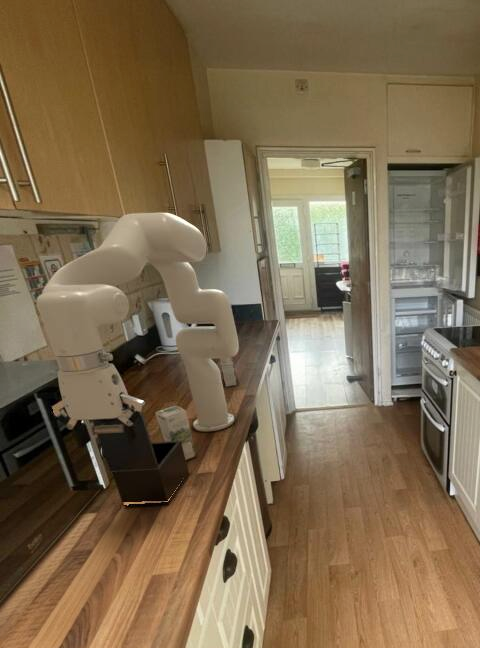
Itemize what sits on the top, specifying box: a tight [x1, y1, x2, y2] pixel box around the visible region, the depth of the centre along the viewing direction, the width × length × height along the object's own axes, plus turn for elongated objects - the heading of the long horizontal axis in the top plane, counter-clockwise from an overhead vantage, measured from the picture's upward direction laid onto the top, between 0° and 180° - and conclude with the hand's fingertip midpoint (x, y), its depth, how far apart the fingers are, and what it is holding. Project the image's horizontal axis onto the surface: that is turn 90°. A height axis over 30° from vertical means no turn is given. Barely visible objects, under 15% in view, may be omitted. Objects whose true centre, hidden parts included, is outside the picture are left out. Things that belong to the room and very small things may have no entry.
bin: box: [111, 441, 190, 509], centre depth 103 cm, size 14×10×10 cm
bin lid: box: [91, 407, 159, 472], centre depth 89 cm, size 14×10×5 cm
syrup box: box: [155, 405, 197, 461], centre depth 116 cm, size 6×6×14 cm
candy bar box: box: [218, 357, 238, 388], centre depth 173 cm, size 11×5×16 cm, turn 22°
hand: (110, 442), depth 86 cm, fingers open, 9 cm apart
